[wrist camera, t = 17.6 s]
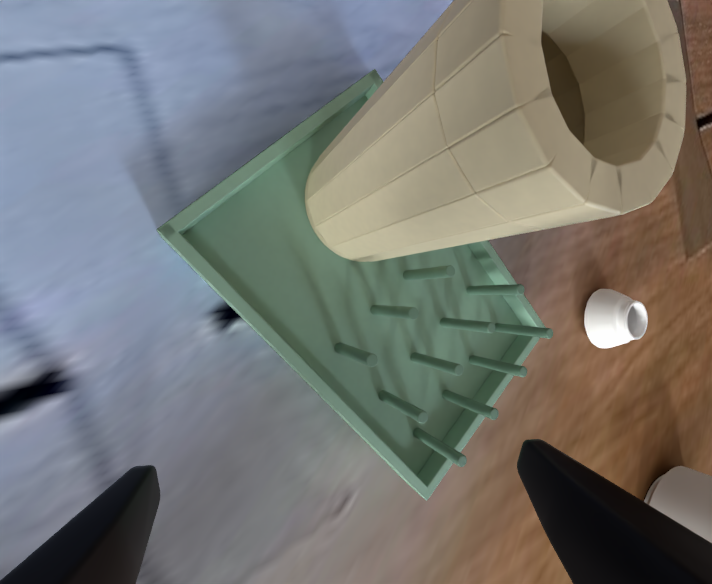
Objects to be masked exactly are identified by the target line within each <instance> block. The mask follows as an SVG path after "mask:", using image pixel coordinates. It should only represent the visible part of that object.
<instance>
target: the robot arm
mask: <svg viewBox="0 0 712 584" xmlns="http://www.w3.org/2000/svg"><path fill="white" fill-rule="evenodd" d="M517 469H518V473H519V475H520V478H521V480H522V482H523V484H524V486H525V489H526V491H527V493H528V495H529V497H530V500H531V502H532V504H533V506H534V509H535V511H536V513H537V515H538V517H539V520H540V522H541V524H542V526H543V528H544V530H545V532H546V534H547V536H548V538H549V540H550V542H551V544H552V546H553V548H554V550H555V551H556V553H557V555H558V557H559V559H560V560H561V562H562V564H563V566H564V568H565V569H566V571H567V573H568V575H569V577H570V578H571V580H572V582H573V584H712V543H711V542H709V541H707V540H706V539H704V538H703V537H701V536H699V535H698V534H696V533H694V532H693V531H691V530H689V529H688V528H686V527H684V526H683V525H681V524H679V523H678V522H676V521H675V520H673V519H671V518H670V517H668V516H666V515H665V514H663V513H661V512H660V511H658V510H656V509H655V508H653V507H652V506H650V505H648V504H647V503H645V502H643V501H642V500H640V499H638V498H637V497H635V496H633V495H632V494H630V493H629V492H627V491H625V490H624V489H622V488H620V487H619V486H617V485H615V484H614V483H612V482H610V481H609V480H607V479H605V478H604V477H602V476H601V475H599V474H597V473H596V472H594V471H592V470H591V469H589V468H587V467H586V466H584V465H582V464H581V463H579V462H578V461H576V460H574V459H573V458H571V457H569V456H568V455H566V454H564V453H563V452H561V451H559V450H558V449H556V448H554V447H553V446H551V445H550V444H548V443H546V442H545V441H543V440H540V439H532V440H525V441H524V442H523V445H522V448H521V452H520V455H519V459H518V462H517ZM159 501H160V488H159V483H158V478H157V472H156V469H155V467H154V466H152V465H147V466H136V467H133V468H131V469H130V470H129V471H128V472H126V473H125V474H124V475H123V476H122V477H121V478H119V479H118V480H117V481H116V482H115V483H114V484H112V485H111V486H110V487H109V488H108V489H107V490H105V491H104V492H103V493H102V494H101V495H100V496H98V497H97V498H96V499H95V500H94V501H93V502H91V503H90V504H89V505H88V506H87V507H86V508H84V509H83V510H82V511H81V512H80V513H79V514H77V515H76V516H75V517H74V518H73V519H72V520H70V521H69V522H68V523H67V524H66V525H65V526H63V527H62V528H61V529H60V530H59V531H58V532H56V533H55V534H54V535H53V536H52V537H51V538H49V539H48V540H47V541H46V542H45V543H44V544H42V545H41V546H40V547H39V548H38V549H37V550H35V551H34V552H33V553H32V554H31V555H30V556H28V557H27V558H26V559H25V560H24V561H23V562H22V563H20V564H19V565H18V566H17V567H16V568H15V569H13V570H12V571H11V572H10V573H9V574H8V575H6V576H5V577H4V578H3V579H2V580H1V581H0V584H135V583H136V580H137V577H138V574H139V571H140V567H141V564H142V560H143V557H144V553H145V550H146V547H147V543H148V540H149V536H150V533H151V529H152V526H153V522H154V519H155V516H156V512H157V509H158V505H159Z"/></svg>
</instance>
